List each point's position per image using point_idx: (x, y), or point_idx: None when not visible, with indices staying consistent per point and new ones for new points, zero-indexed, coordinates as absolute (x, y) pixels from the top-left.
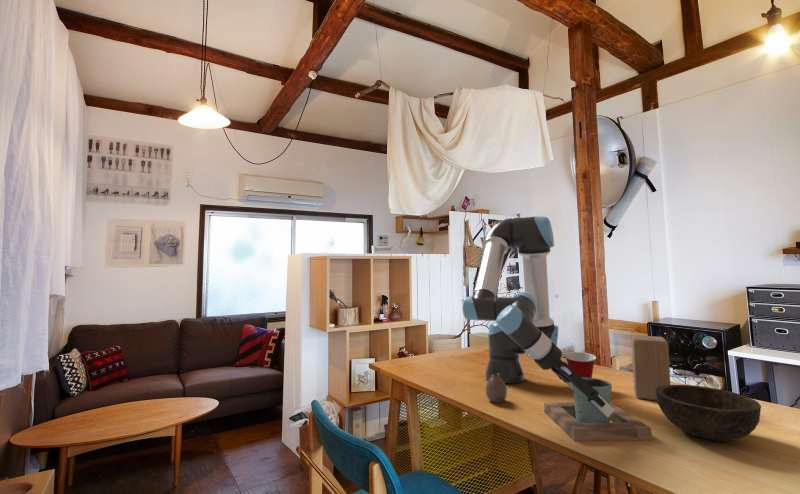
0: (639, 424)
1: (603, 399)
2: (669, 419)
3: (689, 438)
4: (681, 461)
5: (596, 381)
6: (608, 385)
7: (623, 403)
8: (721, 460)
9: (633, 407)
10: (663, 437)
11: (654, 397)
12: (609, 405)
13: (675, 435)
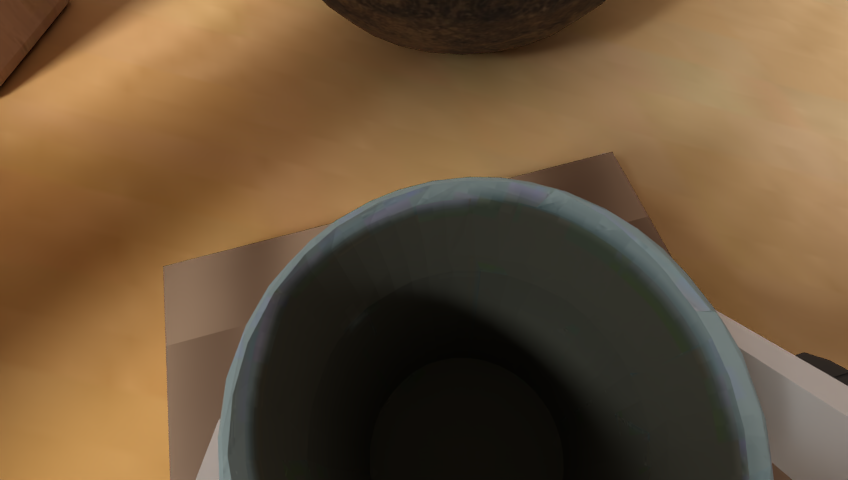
0: (581, 192)
1: (787, 356)
2: (500, 46)
3: (516, 53)
4: (803, 145)
5: (294, 306)
6: (445, 213)
7: (57, 182)
8: (706, 27)
9: (128, 151)
10: (541, 135)
11: (29, 29)
12: (721, 318)
13: (498, 88)
